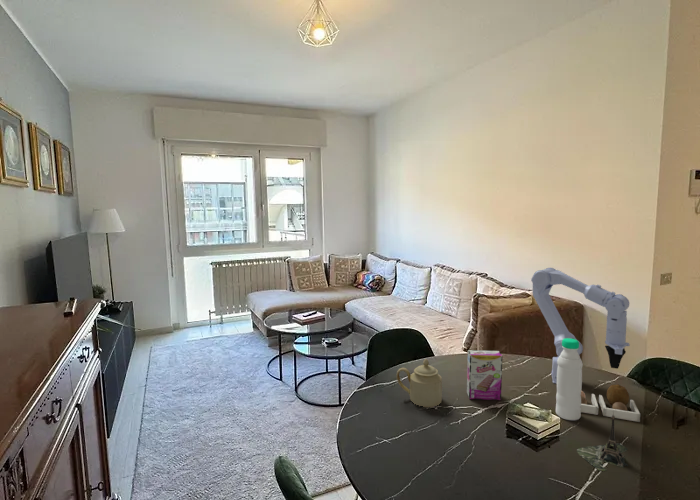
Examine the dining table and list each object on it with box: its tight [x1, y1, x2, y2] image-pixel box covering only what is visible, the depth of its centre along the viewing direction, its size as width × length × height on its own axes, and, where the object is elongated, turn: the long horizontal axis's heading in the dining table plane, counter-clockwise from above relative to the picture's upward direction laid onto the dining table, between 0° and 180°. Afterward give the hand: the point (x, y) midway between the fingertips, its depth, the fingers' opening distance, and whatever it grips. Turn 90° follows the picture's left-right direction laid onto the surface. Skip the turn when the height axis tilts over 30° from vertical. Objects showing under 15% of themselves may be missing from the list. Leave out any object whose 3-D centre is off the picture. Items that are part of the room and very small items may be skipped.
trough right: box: [598, 394, 641, 423], centre depth 129 cm, size 10×10×2 cm
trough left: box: [580, 393, 599, 416], centre depth 134 cm, size 10×10×2 cm
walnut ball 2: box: [611, 402, 628, 411], centre depth 127 cm, size 4×4×4 cm
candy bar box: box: [466, 349, 503, 401], centre depth 141 cm, size 11×5×16 cm, turn 84°
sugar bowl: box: [396, 358, 443, 408], centre depth 139 cm, size 15×11×15 cm
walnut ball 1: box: [581, 396, 588, 405], centre depth 133 cm, size 4×4×4 cm
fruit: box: [606, 383, 630, 406], centre depth 131 cm, size 6×6×8 cm
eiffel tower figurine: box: [576, 412, 629, 472], centre depth 106 cm, size 15×10×13 cm
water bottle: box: [555, 338, 584, 421], centre depth 127 cm, size 7×7×25 cm
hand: (614, 367), depth 140 cm, fingers closed
